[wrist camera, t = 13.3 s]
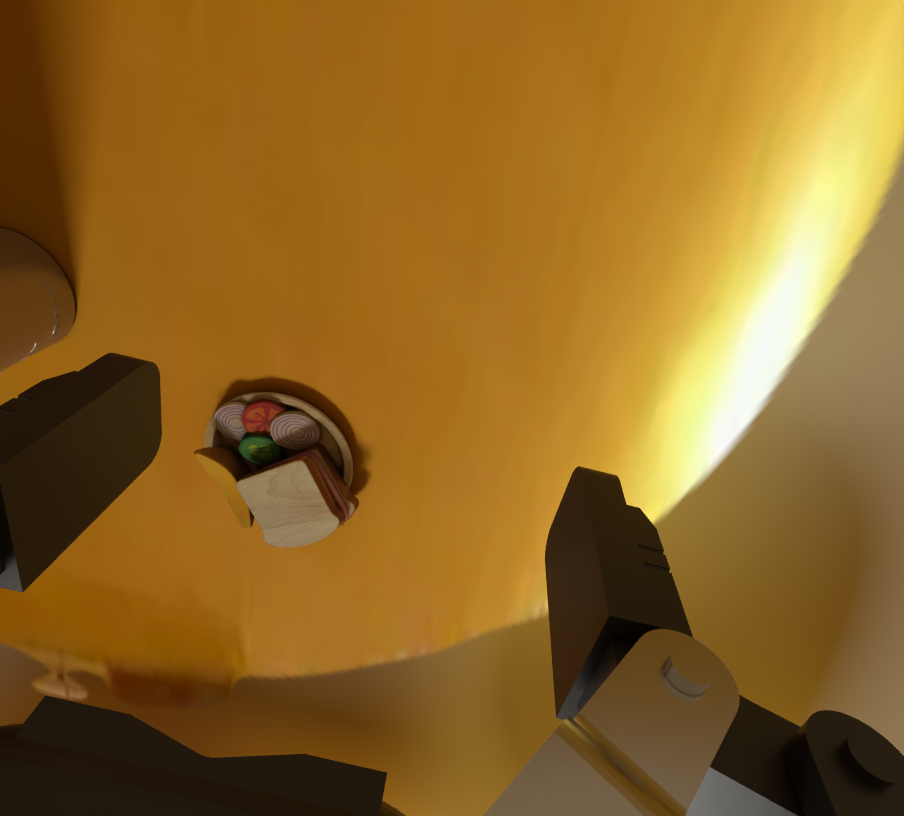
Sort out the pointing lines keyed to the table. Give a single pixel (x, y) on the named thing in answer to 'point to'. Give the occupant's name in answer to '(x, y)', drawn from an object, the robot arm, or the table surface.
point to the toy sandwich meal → (280, 467)
